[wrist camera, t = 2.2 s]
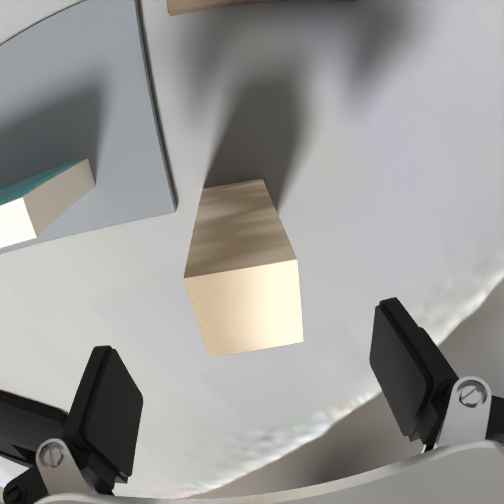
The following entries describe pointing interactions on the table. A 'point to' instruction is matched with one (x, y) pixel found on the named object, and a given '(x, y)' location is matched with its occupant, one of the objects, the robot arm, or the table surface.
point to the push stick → (242, 271)
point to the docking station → (27, 428)
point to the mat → (84, 115)
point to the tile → (41, 200)
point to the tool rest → (203, 4)
